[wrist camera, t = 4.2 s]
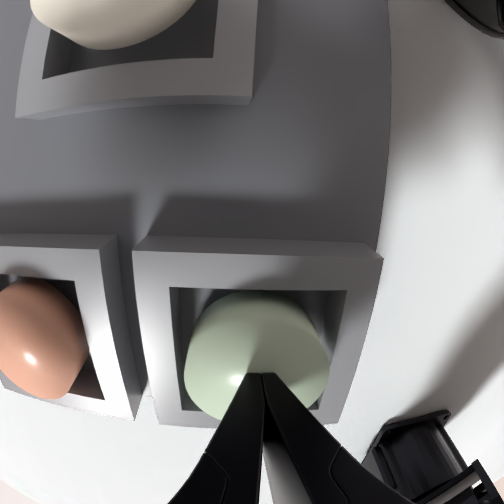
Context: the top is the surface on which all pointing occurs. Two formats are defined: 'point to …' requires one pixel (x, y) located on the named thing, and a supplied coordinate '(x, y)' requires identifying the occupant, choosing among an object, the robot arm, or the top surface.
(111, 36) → the cream button
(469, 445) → the top surface
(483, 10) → the french press
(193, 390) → the sage button
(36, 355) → the terracotta button
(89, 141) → the console
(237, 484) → the robot arm
